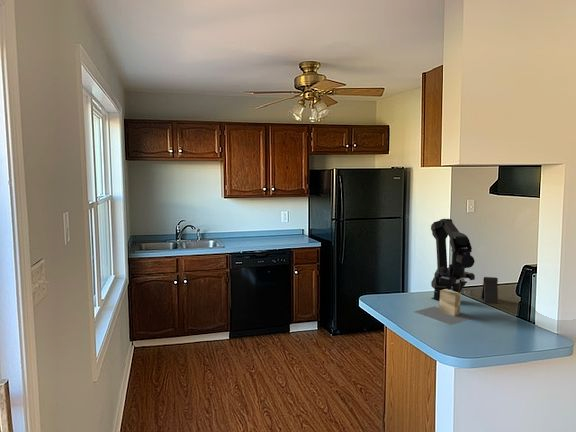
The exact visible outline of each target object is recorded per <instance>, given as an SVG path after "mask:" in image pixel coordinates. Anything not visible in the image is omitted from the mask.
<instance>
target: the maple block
mask: <svg viewBox="0 0 576 432" xmlns="http://www.w3.org/2000/svg"><path fill="white" fill-rule="evenodd" d="M461 295H462V293H461V292H460V293H458V292H455V291H453V290H452V289H443V290H440V301H438V302H439V306H438V308H439V312H442V313H445V314H448V315H451V316H457V315H459V314H460V315H461V313H460V311H461V297H462V296H461Z"/></svg>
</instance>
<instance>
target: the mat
mask: <svg viewBox="0 0 576 432" xmlns="http://www.w3.org/2000/svg"><path fill="white" fill-rule="evenodd" d="M413 313H416V314H419V315H422V316H423V317H427V318H430V319H433V320H436V321H439V322H442V323H444V324H448V325H450V326H452V325H455V324H460V323H462V322H464V321H468V320H472V317H469V316H466V315H463V314H461V313H460V314H459V315H457V316H451V315H448V314H445V313H442V312H439V306H435V305H434V306H429V307H427V308H422V309H418V310H415V311H413Z"/></svg>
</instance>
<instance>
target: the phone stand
mask: <svg viewBox="0 0 576 432" xmlns="http://www.w3.org/2000/svg"><path fill="white" fill-rule="evenodd" d="M498 280H499V278H498V277H491V276H484V277H483V283H482V288H481V294H480V299H481V300H482V301H483V302H484V304H499V295H498V294H499V293H498V289H499V288H498Z"/></svg>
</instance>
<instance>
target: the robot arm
mask: <svg viewBox="0 0 576 432" xmlns="http://www.w3.org/2000/svg"><path fill="white" fill-rule="evenodd" d="M430 230H431V234H432V235H431V236H433V238H434V239H435V243H436V245H435V247H436V248H435V249H436V264H437V266H436V267H437V269H436V271H435V272H434V277H433V279H432V280H431V283H430V285H431V287H432V288H433V289H434V291H433V297H431V300H435V301H438V302H440V290H443V289H448V290H452V291H455V292H458V293H461V292H462V290H463V289H464V287H465V286H466V284H467V283H468V281H465V279H469V280H470V281H474V280H475V279H476V277H475V274H474V273H473V272H469V271H465V269H468V268H469V269H470V268H472V267H473V266H474V264H475V262H476V261H475V258H474V256H472V254H471V253H472V252H473V251H472V249H473V247H472V245H471V242H470V239H469V237H468V235H466V234H465V233H462V232H460V231H459V229H458V228H457V227H456V226H455V223H454V222H453V219H451V218H442V219H439V220H437V221H434V222H433V223H432V224H431V225H430ZM448 237H449V238H450V239H449V245H450V247H451V263H450V264H449V265H448V256H447V255H448V254H447V251H448V250H447V238H448Z"/></svg>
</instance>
